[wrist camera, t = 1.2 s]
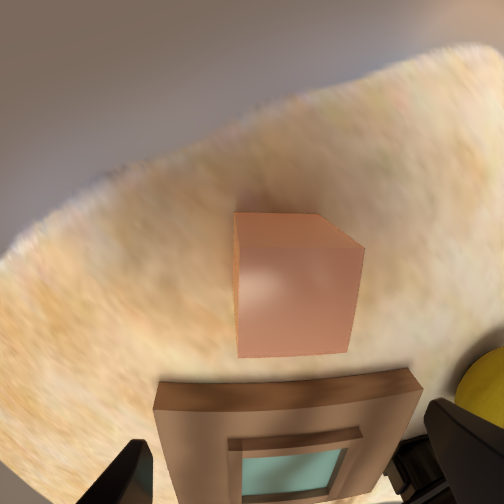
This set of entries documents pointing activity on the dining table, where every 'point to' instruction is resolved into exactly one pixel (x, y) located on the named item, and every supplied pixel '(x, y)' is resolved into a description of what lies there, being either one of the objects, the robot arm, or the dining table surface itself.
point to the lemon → (484, 388)
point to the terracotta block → (293, 285)
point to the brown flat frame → (282, 437)
